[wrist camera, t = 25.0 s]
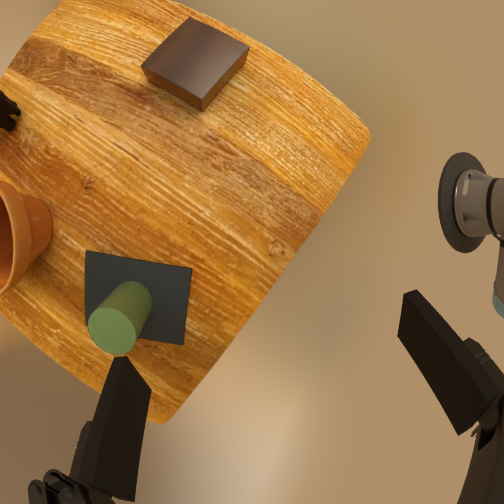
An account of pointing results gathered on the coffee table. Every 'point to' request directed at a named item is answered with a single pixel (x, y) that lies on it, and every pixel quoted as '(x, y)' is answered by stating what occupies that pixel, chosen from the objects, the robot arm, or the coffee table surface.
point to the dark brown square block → (195, 62)
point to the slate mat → (157, 283)
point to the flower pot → (21, 233)
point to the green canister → (120, 318)
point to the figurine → (7, 112)
